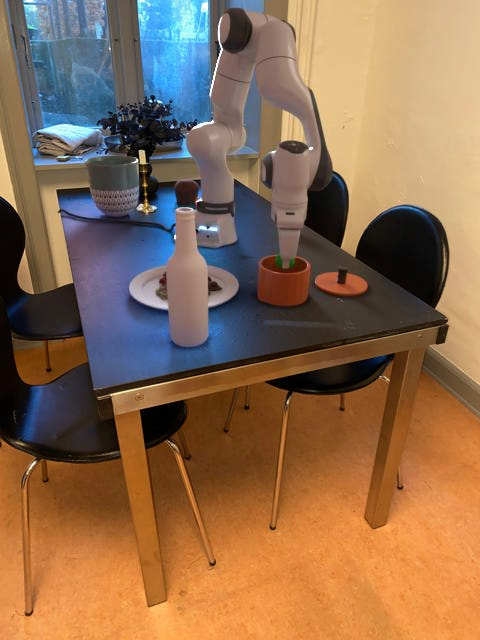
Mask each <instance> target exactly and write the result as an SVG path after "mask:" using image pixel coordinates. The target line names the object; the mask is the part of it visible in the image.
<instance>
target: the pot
mask: <svg viewBox="0 0 480 640" xmlns="http://www.w3.org/2000/svg"><path fill="white" fill-rule="evenodd" d="M277 255H278V254H271V255H267V256H264V257H262V258H261V259H259V261H258V273H257V293H256V295H257V299H258V300H259V301H260V302H264V303H267V304H270V305H274V306H279V307H292V306H298V305H301V304H302V303H304V302H306V301H307V299H308V296H309V288H310V278H311V277H310V276H311V263H310V262H309V261H308V259H305V258H304V257H300V256H297V255H296V257H295V263H294V265H293V266H292V267H291V268H290V269H287V270H283V269H281V268H280V267H278V265H277V263H276V257H277Z"/></svg>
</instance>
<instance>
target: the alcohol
mask: <svg viewBox="0 0 480 640" xmlns="http://www.w3.org/2000/svg"><path fill="white" fill-rule="evenodd" d="M195 210H196V209H194V208H192V207H188V206H185V207H177V208H176V209H175V210H174V213H175V215H174V219H175V223H176V226H175V229H174V230H175V231H174V232H175V233H174V236H175V241H174V249H173V250H174V251H173V254H171V256H170V257H169V258H168V260H167V262H166V265H167V267H166V277H167V294H168V310H167V311H168V324H169V325H168V326H169V337H170V340H171V341H172V342H173V343H174V344H175V345H176V346H179V347H182V348H194V347H198V346H200V345H203V344H204V343H205V342H206V341H207V339H208V337H209V308H208V268H207V265H208V264H207V261H206V259H205V258H204V256H203V255H202V254H201V253H200V251H199V249H198V246H197V240H196V230H195V221H194V219H195V215H194V213H195Z"/></svg>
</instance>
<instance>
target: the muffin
mask: <svg viewBox="0 0 480 640" xmlns="http://www.w3.org/2000/svg"><path fill="white" fill-rule="evenodd" d="M172 189H173V190H174V195H175V200H176V203H177V204H178V205H181V206H194V205H195V206H196V198H197V197H199V191H200V190H201V186H199V184H198V183H197V181H195V180H193V179H191V178H183V179H180V180H178V181H176V183H175V184H174V185H173V187H172Z"/></svg>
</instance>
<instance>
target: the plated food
mask: <svg viewBox="0 0 480 640" xmlns="http://www.w3.org/2000/svg"><path fill="white" fill-rule="evenodd" d="M166 267H167V264H165V265H160V266H156V267H151V268H150V269H146V270H144V271H142V272H140V273H139V274H137V275H136V276H135V277H133V278H132V280H131V281H130V283H129V286H128V291H129V294H130V296H131V297H132V298H133V299H134V300H136V301H137V303H139V304H142V305H144V306H145V307H150V308H153V309H156V310H162V311H168V294H167V277H166ZM207 268H208V309H210V308H215V307H217V306H220V305H222V304H225V303H226V302H228V301H230V300H232V299H233V297H235V296H236V295H237V293H238V291H239V288H240V283H239V281H238V279H237V278H236V276H235V275H233V274H232V273H231V272H229V271H227V270H226V269H223V268H220V267H217V266H213V265H210V264H209V265H208V264H207Z"/></svg>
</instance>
